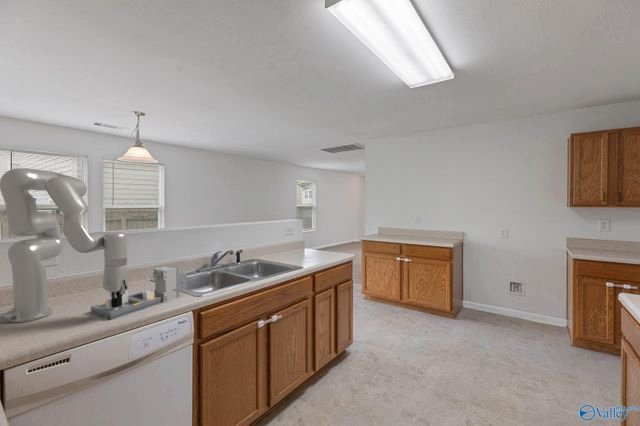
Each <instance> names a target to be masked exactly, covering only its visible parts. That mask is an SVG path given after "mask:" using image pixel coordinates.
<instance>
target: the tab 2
mask: <svg viewBox="0 0 640 426" xmlns="http://www.w3.org/2000/svg"><path fill="white" fill-rule="evenodd" d="M128 296H129V292H128V291H126V293H125V294H123V296H122V303H123V304H124V303H127V302H128Z"/></svg>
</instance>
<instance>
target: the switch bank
mask: <svg viewBox="0 0 640 426" xmlns="http://www.w3.org/2000/svg"><path fill="white" fill-rule="evenodd" d="M154 297H155V298H151V299H148V300H143V291H141V292H138V293H134V294H131V295H128V302H127V303H124V304H123V303H122V306H119V309H117V310H114V311H110V310H107V309H106V302H101V303H97V304H96V305H91V306H90V313H91V314H94V315H96V316H99V317H101V318H102V317H103V318H105V319H109V320H114V319H117V318H121V317H122V316H126V315H130V314H132V313H136V312H138V311H141V310H144V309H147V308H150V307H153V306H157V305H159V304H162V302H161V297H158V296H154Z"/></svg>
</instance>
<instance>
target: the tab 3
mask: <svg viewBox="0 0 640 426" xmlns="http://www.w3.org/2000/svg"><path fill="white" fill-rule="evenodd" d="M154 290H155V289H152V288H150V289H146V290H144V291H142V293H143V300H148V299H151V298H155V297H154Z"/></svg>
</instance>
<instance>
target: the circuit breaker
mask: <svg viewBox="0 0 640 426" xmlns="http://www.w3.org/2000/svg"><path fill="white" fill-rule="evenodd" d="M152 273H153V276H152V277H153V279H154V281H155V282H154V283H155V284H154V285H155V286H154V288H155V289H153V290H154V296H158V297H161V303H167V302H170V301H172V300H175V299H178V298H180V290H183V289H185V288H188V285H187V284H188V275H187V272H183V271H180V267H178V266H174V265H173V266H172V265H166V266H161V267H157V268H153V272H152Z"/></svg>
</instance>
